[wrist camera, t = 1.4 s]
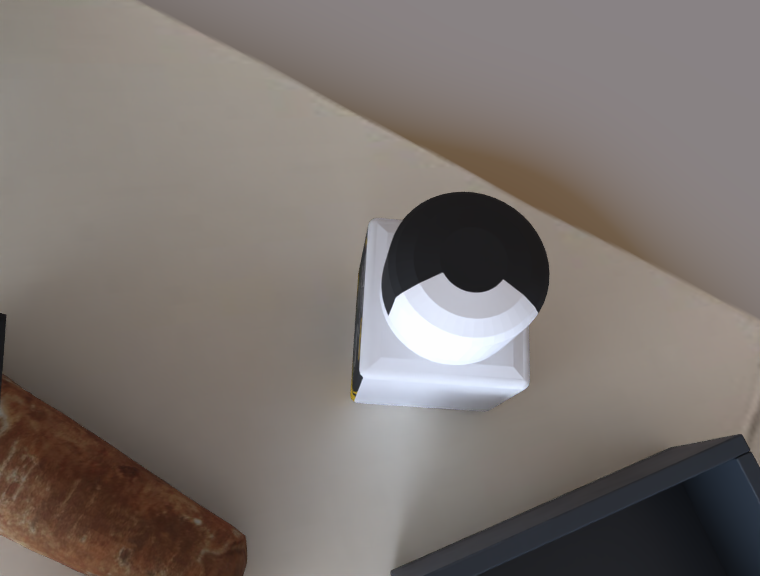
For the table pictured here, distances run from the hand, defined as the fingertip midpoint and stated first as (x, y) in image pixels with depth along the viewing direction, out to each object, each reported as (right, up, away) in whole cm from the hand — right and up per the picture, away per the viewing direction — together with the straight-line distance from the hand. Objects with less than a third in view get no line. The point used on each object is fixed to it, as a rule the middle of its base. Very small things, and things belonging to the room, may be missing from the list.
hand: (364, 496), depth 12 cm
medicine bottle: (+2, +1, +25) cm, 25 cm away
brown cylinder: (-14, -5, +22) cm, 27 cm away
